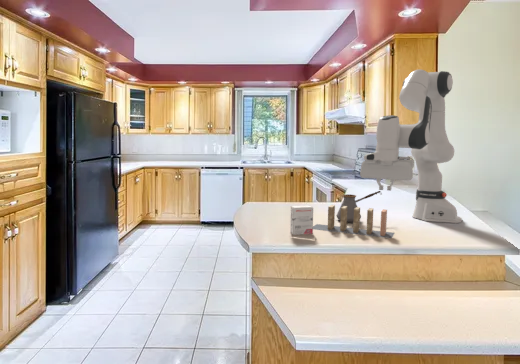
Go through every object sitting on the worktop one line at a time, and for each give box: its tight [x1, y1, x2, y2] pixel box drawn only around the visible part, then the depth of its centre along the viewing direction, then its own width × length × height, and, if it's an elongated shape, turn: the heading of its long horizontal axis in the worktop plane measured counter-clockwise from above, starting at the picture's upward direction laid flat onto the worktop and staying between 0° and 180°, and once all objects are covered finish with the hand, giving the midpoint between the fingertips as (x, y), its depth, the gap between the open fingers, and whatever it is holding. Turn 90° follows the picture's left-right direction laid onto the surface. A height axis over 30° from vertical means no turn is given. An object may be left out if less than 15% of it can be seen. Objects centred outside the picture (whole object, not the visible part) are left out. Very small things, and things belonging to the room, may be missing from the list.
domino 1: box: [327, 204, 336, 230], centre depth 169 cm, size 2×5×10 cm, turn 154°
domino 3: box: [352, 206, 361, 233], centre depth 164 cm, size 2×5×10 cm, turn 155°
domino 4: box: [366, 207, 374, 234], centre depth 161 cm, size 2×5×10 cm, turn 154°
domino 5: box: [379, 209, 388, 236], centre depth 159 cm, size 2×5×10 cm, turn 155°
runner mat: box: [313, 223, 395, 239], centre depth 165 cm, size 34×10×1 cm, turn 64°
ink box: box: [289, 205, 314, 236], centre depth 161 cm, size 9×5×12 cm, turn 101°
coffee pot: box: [335, 190, 383, 224], centre depth 184 cm, size 21×12×15 cm, turn 94°
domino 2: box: [339, 206, 348, 231], centre depth 166 cm, size 2×5×10 cm, turn 154°
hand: (385, 190), depth 157 cm, fingers closed
